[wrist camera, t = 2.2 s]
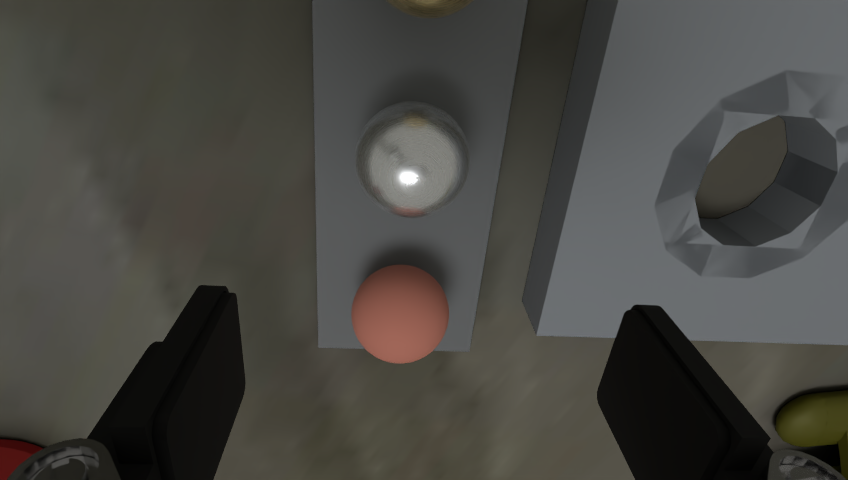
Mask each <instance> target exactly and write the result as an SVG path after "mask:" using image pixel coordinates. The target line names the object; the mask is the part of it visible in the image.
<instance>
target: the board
mask: <svg viewBox="0 0 848 480" xmlns="http://www.w3.org/2000/svg"><path fill="white" fill-rule="evenodd" d="M777 115H779V116H780V117H781V118H782V119H783V120H784V121H785V126H786V136H787V146H788V152H787V155H786V157H785V159H784V161H783V163H782V166H781V168H780V170H779V172H778V175H777V177H776V179H775V181H774V183H773V184H772V185H771V186H769V187H768V188H767V189H766V190H765V191H764V192H763V193H762V194H761V195H760V196H759V197H758V198H757V199H756V200H755V201H754V202H753V203H751V204H750V205H749V206H748V207H746V208H743V209H741V210H738V211H736V212H733V213H731V214H729V215H726V216H724V217H721V218H719V219H707V218H699V217H698V212H697V207H696V203H695V197H696V194H697V191H698V189H699V186H700V183H701V180H702V178H703V175H704V172H705V170H706V167H707V164H708V163H709V162H710V161H711V160H712V159H713V158H714V157H715V156H716V155H717V154H718V153H719V152H720V151H721V150H722V149H723V148H724V147H725V146H726V144H727V143H728V142H729V141H730V140H731V139H732V138H733V137H734V136H735V135H736V134H737V133H738V132H740V131H743V130H745V129H747V128H750V127H752V126H754V125H757V124H759V123H761V122H764V121H766V120H768V119H771V118H773V117H775V116H777ZM522 302H523V304H524V307H525V309H526V312H527V314H528V316H529V319H530V321H531V324H532V326H533V329H534V331H535V333H536V335H537V336H569V337H602V338H616V335H617V332H618V329H619V327H620V324H621V321H622V318H623V315H624V313H625V312H626V311H627V310H631V308H632V307H633V306H634V305H636V304H638V305H658V306H660V307H662V308H663V309H664V311H665V312H666V313H667V314H668V315H669V317H670V318H671V319H672V320H673V321H674V323H675V324H676V325H677V326H678V327H679V329H680V330H681V331H682V332H683V333H684V335H685V336H686V337H687V338H688V339H689V340H698V341H731V342H763V343H795V344H828V345H848V0H588V1H587V6H586V10H585V15H584V19H583V24H582V29H581V33H580V38H579V42H578V47H577V51H576V56H575V61H574V65H573V70H572V74H571V79H570V84H569V88H568V93H567V97H566V102H565V106H564V111H563V116H562V120H561V125H560V129H559V134H558V139H557V143H556V148H555V152H554V157H553V161H552V166H551V171H550V175H549V180H548V184H547V189H546V194H545V198H544V203H543V207H542V212H541V216H540V221H539V226H538V230H537V235H536V239H535V244H534V249H533V253H532V258H531V262H530V267H529V271H528V276H527V281H526V285H525V290H524V294H523V299H522Z"/></svg>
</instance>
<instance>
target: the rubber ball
mask: <svg viewBox="0 0 848 480" xmlns="http://www.w3.org/2000/svg"><path fill="white" fill-rule="evenodd" d="M351 318H352V324H353V329H354V332H355V334H356V336H357V338H358V340H359V342H360V343H361V344H362V345H363V347H364V348H365V349H366V350H367V351H368V352H369V353H371V354H372V355H374V356H375V357H377V358H379V359H381V360H383V361H387V362H391V363H409V362H413V361H416V360H419V359H421V358H423V357H425V356H426V355H428V354H429V353H430V352H432V351H433V350H434V349H435V348H436V347H437V346H438V344H439V343H440V342H441V340H442V338H443V337H444V335H445V332H446V329H447V326H448V321H449V306H448V301H447V298H446V295H445V293H444V291H443V289H442V287H441V286H440V284H439V283H438V282H437V281H436V280H435V279H434V278H433V277H432V276H431V275H430V274H429V273H427V272H425V271H424V270H422V269H419V268H417V267H414V266H410V265H391V266H387V267H384V268H381V269H379V270H378V271H376V272H374V273H373V274H371V275H370V276H369V277H368V278H366V280H365V281H364V282H363V283H362V284H361V285H360V287H359V289H358V290H357V292H356V295H355V297H354V300H353V304H352V311H351Z"/></svg>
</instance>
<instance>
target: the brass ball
mask: <svg viewBox="0 0 848 480" xmlns="http://www.w3.org/2000/svg"><path fill="white" fill-rule="evenodd" d="M386 1H387V2H388V3H389V4H390V5H391V6H393V7H394V8H396V9H398V10H399V11H401V12H403V13H405V14H408V15H411V16H414V17H419V18H440V17H445V16H448V15H451V14H453V13H456V12H458V11H460V10H461V9H463V8H465V7H466V6H467V5H469V4H470V3H471V2H472V1H474V0H386Z"/></svg>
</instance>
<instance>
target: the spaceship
mask: <svg viewBox="0 0 848 480" xmlns="http://www.w3.org/2000/svg"><path fill="white" fill-rule="evenodd" d="M775 430H776V431H777V433H778V435H779V436H780V437H781V439H782V440H783V441H785V442H787V443H789V444H791V445H795V446H799V447H811V446H821V445H831V444H839V453H840V462H841V465H840V466H831V467H832V468H834V469H835V470H836V471H838V472H839V473H840V474H841V475H842V476H843V477H844V478H845V479H846V480H848V390H844V391H833V392H822V393H811V394H806V395H802V396H799V397H797V398H795V399H793V400H791V401H790V402H789V403H787V404H786V405H785V406H784V407H782V409H781V410H780V412H779V413H778V415H777V419H776V427H775Z"/></svg>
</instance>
